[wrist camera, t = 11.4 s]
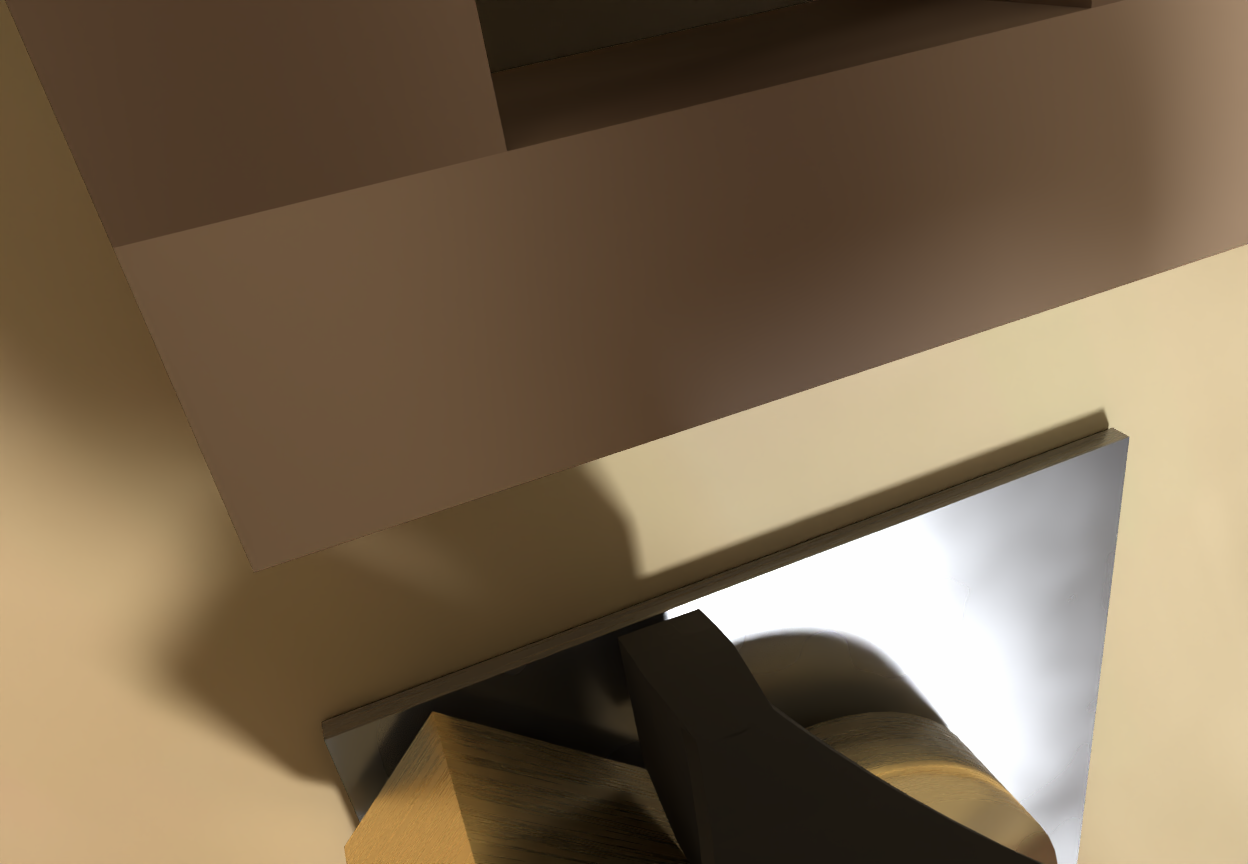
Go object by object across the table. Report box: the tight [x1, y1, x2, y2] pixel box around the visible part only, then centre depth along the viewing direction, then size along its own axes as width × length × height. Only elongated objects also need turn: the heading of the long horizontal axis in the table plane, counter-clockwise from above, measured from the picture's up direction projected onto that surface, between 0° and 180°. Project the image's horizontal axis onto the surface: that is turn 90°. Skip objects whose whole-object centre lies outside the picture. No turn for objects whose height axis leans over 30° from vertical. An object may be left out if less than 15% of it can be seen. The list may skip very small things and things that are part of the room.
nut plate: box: [322, 428, 1129, 864], centre depth 15 cm, size 11×11×1 cm
